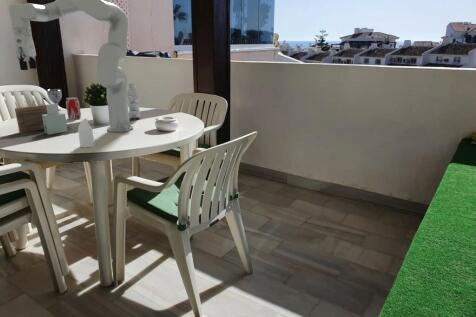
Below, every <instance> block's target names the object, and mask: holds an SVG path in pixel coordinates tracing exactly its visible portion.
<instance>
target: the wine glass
mask: <svg viewBox="0 0 476 317" xmlns="http://www.w3.org/2000/svg"><path fill="white" fill-rule="evenodd" d="M46 94H47V98H48V99H49V101H50V102H52V104H56V103H57V104H58V105H59V103H60V101H61V100H62V96H63V95H62V89H60V88H53V89H52V88H51V89H50V88H49V89H47V90H46Z"/></svg>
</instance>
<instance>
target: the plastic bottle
mask: <svg viewBox="0 0 476 317" xmlns="http://www.w3.org/2000/svg"><path fill="white" fill-rule="evenodd" d="M136 86H137V85H136V83H128V90H127V101H128V112H129V119H134V120H135V119H138V118H140V117H141V111H140V106H139V90H138V89H137V88H136Z"/></svg>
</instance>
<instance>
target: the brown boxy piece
mask: <svg viewBox="0 0 476 317" xmlns="http://www.w3.org/2000/svg"><path fill="white" fill-rule="evenodd" d="M46 105H47V104H39V105H33V106H24V107H22V106H21V107H14V112H15V116H16V117H15V118H16V122H17V127H18V131H19V133H20V134H21V133H28V132H34V131H41V130H44V124H43V118H42V115H45V114H48V113H47V108H46Z"/></svg>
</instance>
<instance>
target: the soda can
mask: <svg viewBox="0 0 476 317" xmlns="http://www.w3.org/2000/svg"><path fill="white" fill-rule="evenodd" d="M65 107H66V112H67V117H68V119H70V120H80V118H81V117H82V113H81V107H80V101H79V99H78V97H76V96H74V97H66V100H65Z"/></svg>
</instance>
